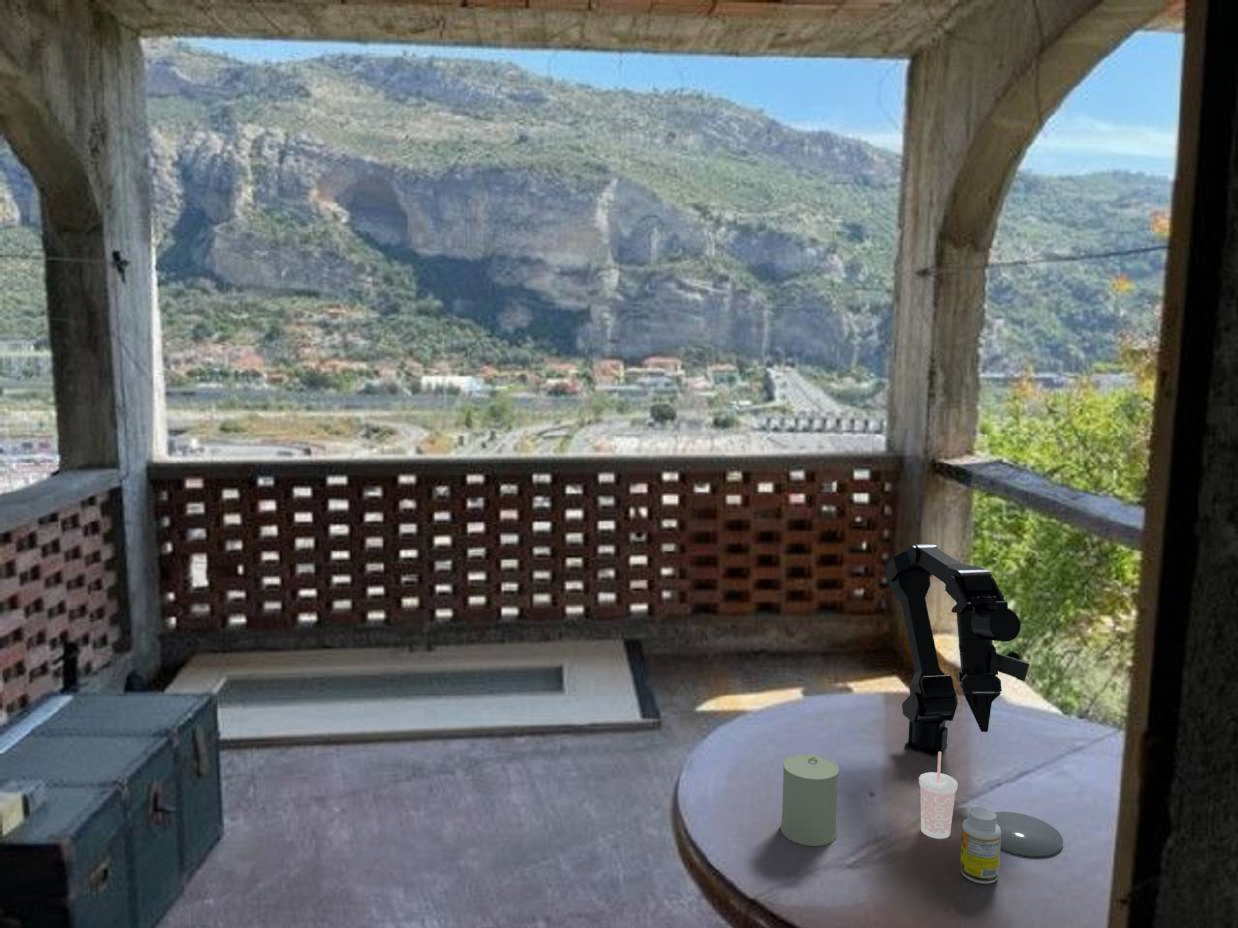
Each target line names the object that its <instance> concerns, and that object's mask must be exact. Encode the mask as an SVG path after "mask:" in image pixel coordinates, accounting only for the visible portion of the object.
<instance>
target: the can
mask: <svg viewBox="0 0 1238 928" xmlns="http://www.w3.org/2000/svg"><path fill="white" fill-rule="evenodd" d="M782 767H783V768H782V769H783V770H782V772H783V773H782V774H783V775H782V804H781V805H782V807H781V808H782V810H781V811H782V812H781V823H780V831H781V833H782V835H783V836H784V838H786V839H787V840H790V841H791V842H793V843H795V844H798V845H801V846H807V847H809V846H810V847H820V846H826V845H829V844H831V843H833V842H834V841H835V840H836V839H837V837H838V832H837V813H838V810H837V809H838V790H839V774H840V768H839V765H838V764H837V763H836V762H834V761H833V760H832V759H829V758H828V757H825V756H823V755H822V756H821V755H819V754H818V755H817V754H811V753H802V754H801V753H799V754H794V755H791V756H788V757H786V758H785V759H784V761H783V763H782Z"/></svg>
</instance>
